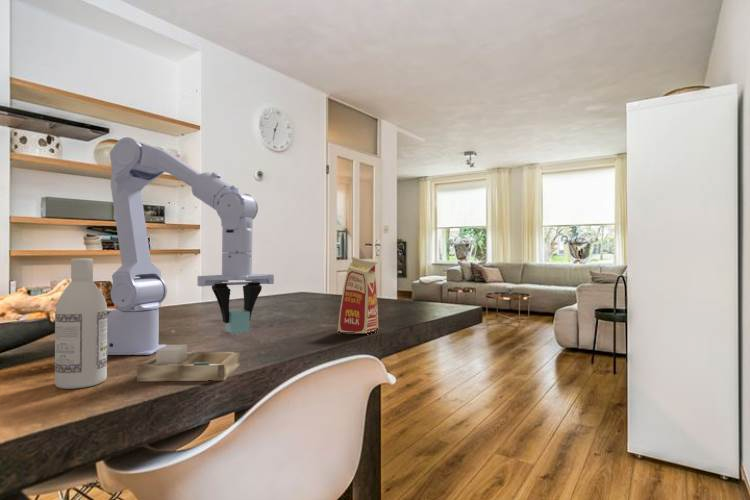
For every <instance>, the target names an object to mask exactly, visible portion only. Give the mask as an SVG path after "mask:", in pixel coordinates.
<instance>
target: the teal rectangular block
mask: <svg viewBox="0 0 750 500" xmlns="http://www.w3.org/2000/svg"><path fill="white" fill-rule="evenodd" d="M250 322H251V319H250V312H249V311H247V310H245V309H244V308H234V309H230V308H229V323H224V324H225V326H224V327H225V328H224V329H225V331H227V333H229V334H231V335H235V334H244V333H250V325H251V323H250Z"/></svg>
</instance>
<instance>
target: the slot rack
mask: <svg viewBox="0 0 750 500" xmlns="http://www.w3.org/2000/svg"><path fill="white" fill-rule="evenodd" d="M239 367H240V351H214V352H213V351H212V352H211V351H205V352H204V351H200V352H199V351H197V352H196V351H195V352H192V351H190V352H188V351H187V360H186V361H184V362H183V363H181V364H170V362H168V363H156V355H155V356H154V357H151V358H150V359H148V360H145V361H144V362H141V363H139V364H138V365H137V366H136V382H194V381H196V382H197V381H201V382H203V381H205V382H206V381H208V380H213V381H226V380H227V378H229V376H230V375H232V373H233V372H235V371H236V370H237V368H239ZM208 382H209V381H208Z"/></svg>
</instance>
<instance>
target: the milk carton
mask: <svg viewBox="0 0 750 500" xmlns="http://www.w3.org/2000/svg"><path fill="white" fill-rule="evenodd" d="M377 264H378V262H376V261H370V260H369V261H368V260H364V259H362V258H358V257H355V256H351V263H350V264H349V265H348V266H347V267H348V268H347V271H346V275H345V281H344V284H343V290H342V296H341V299H340V307H339V315H338V323H337V324H338V325H337V332H338V331H340V332H355V333H367V332H370V331H374V330H376V329H377V328H378V329H379V309H378V295H377V294H378V289H377V280H376V278H377V277H376V265H377Z"/></svg>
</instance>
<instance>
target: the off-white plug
mask: <svg viewBox="0 0 750 500" xmlns="http://www.w3.org/2000/svg"><path fill="white" fill-rule="evenodd" d="M165 345H166V346H164V347H162V348H160V349H158V350H156V352H155V354H156V355H155V356H156V363H168V362H170V364H181V363H183V362H184V361H186V360H187V352H188V344H165Z"/></svg>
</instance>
